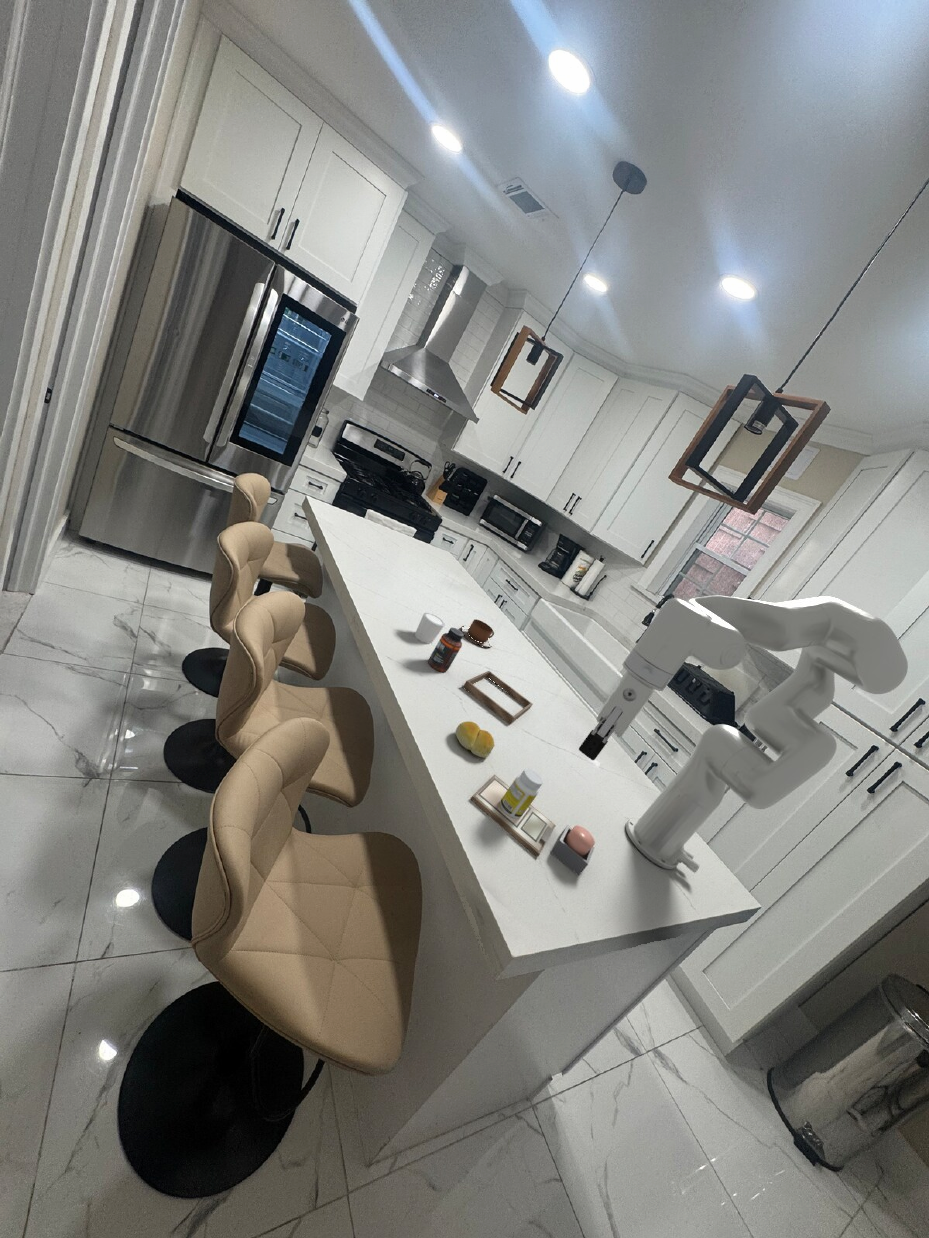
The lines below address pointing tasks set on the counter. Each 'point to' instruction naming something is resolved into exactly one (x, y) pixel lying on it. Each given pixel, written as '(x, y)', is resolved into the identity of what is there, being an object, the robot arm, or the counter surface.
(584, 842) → the button
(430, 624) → the white cup
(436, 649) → the supplement bottle
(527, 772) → the supplement bottle
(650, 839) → the robot arm
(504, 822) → the brown double tray
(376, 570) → the counter surface
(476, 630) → the cup and saucer
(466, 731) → the bread roll
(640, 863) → the counter surface
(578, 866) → the button housing
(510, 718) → the frame
